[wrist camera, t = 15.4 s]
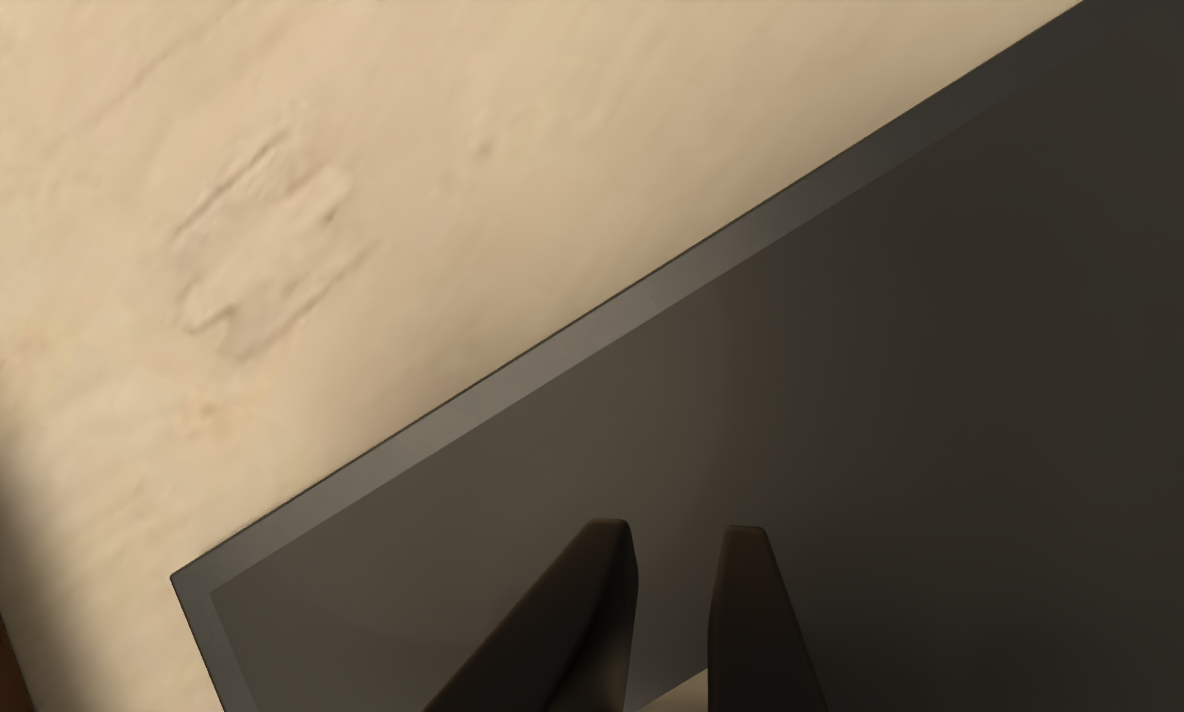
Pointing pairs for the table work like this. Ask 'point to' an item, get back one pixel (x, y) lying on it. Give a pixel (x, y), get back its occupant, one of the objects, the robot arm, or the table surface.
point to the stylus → (683, 697)
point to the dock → (11, 680)
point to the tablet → (813, 429)
